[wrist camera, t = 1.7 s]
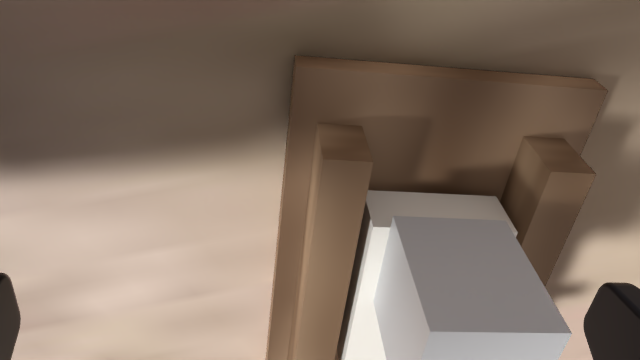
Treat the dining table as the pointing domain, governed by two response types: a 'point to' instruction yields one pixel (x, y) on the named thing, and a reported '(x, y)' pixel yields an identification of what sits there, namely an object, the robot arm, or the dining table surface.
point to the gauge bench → (416, 170)
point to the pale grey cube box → (445, 284)
